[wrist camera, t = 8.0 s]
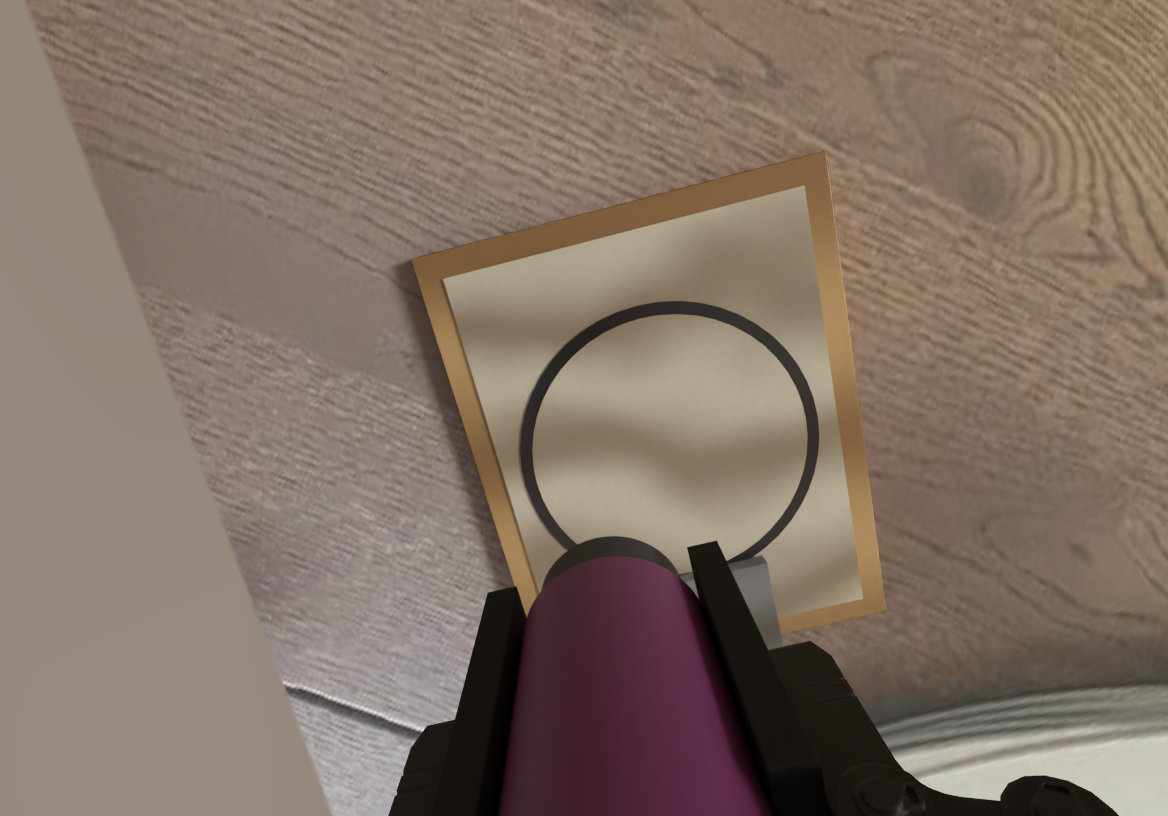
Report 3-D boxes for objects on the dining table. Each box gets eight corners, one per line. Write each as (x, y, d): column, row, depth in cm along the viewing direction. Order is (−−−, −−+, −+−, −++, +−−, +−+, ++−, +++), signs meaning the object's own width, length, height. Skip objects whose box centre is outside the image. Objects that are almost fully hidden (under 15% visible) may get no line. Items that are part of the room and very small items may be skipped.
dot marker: (504, 543, 15) (379, 1045, 6) (679, 501, 15) (859, 955, 5) (550, 689, 17) (511, 1310, 7) (714, 653, 16) (911, 1245, 7)
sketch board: (414, 258, 23) (404, 260, 22) (820, 152, 23) (835, 147, 21) (550, 689, 29) (548, 711, 27) (882, 616, 28) (897, 635, 27)
